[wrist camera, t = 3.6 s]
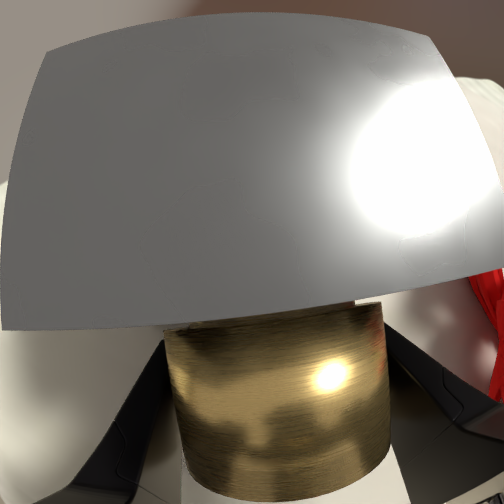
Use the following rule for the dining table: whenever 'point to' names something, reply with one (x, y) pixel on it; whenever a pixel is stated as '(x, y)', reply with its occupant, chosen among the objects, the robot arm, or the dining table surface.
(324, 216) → the housing
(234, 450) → the gold cylindrical piece
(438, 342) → the dining table surface
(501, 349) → the figurine
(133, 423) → the robot arm
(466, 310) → the dining table surface
